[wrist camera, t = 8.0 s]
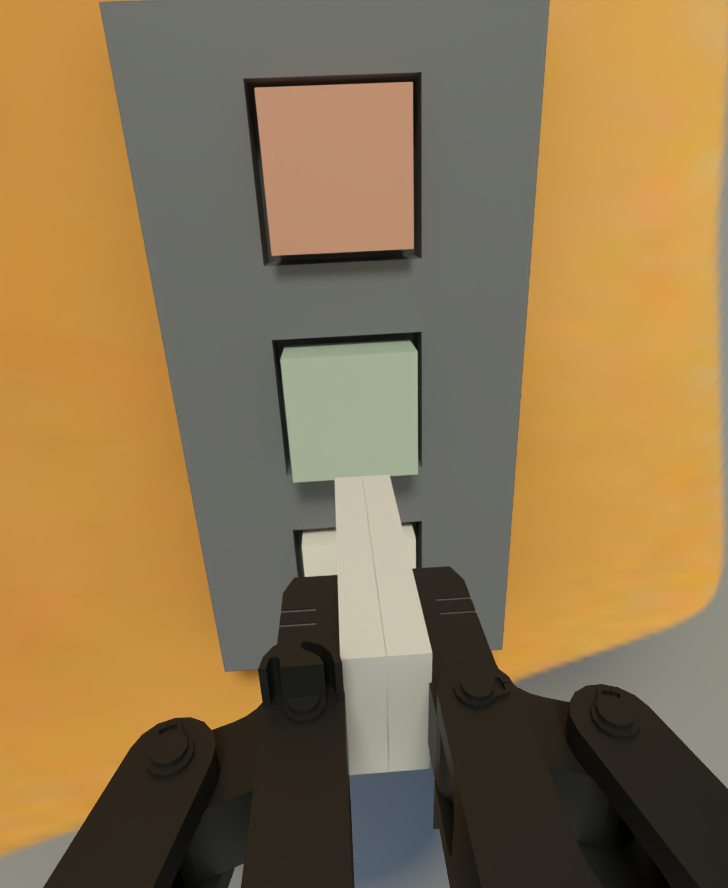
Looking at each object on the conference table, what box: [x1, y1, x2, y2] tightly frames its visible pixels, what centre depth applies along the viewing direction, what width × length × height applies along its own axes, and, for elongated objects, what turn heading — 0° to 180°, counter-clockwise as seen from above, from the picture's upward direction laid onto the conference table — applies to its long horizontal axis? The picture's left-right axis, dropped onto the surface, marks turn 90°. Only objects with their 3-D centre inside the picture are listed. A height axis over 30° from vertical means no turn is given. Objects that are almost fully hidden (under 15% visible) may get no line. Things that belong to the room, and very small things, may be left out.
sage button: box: [280, 339, 418, 483], centre depth 22 cm, size 5×5×2 cm
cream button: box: [302, 522, 416, 577], centre depth 26 cm, size 5×5×2 cm
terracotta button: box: [254, 82, 414, 256], centre depth 19 cm, size 5×5×2 cm
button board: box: [99, 0, 550, 672], centre depth 23 cm, size 14×27×2 cm, turn 2°
